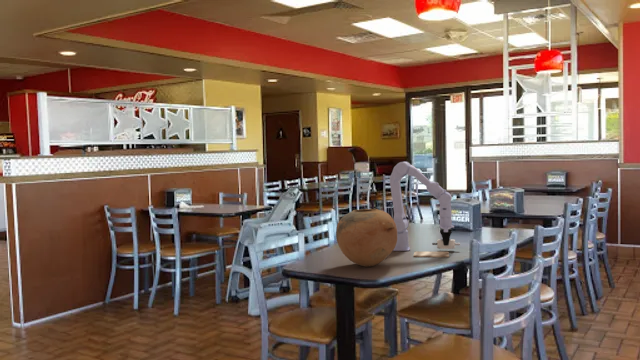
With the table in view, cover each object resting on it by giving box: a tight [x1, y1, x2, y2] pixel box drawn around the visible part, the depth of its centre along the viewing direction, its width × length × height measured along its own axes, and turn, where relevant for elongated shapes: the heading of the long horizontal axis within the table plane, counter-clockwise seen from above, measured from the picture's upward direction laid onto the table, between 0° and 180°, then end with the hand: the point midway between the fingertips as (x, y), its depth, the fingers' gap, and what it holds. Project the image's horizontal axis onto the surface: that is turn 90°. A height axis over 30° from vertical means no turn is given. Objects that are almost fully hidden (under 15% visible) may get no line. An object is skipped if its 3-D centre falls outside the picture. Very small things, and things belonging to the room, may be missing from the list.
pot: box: [335, 208, 397, 268], centre depth 245 cm, size 31×27×25 cm
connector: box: [431, 238, 461, 250], centre depth 274 cm, size 13×4×4 cm, turn 78°
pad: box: [413, 251, 450, 258], centre depth 265 cm, size 16×10×1 cm, turn 78°
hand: (446, 244), depth 274 cm, fingers closed on connector, 3 cm apart
